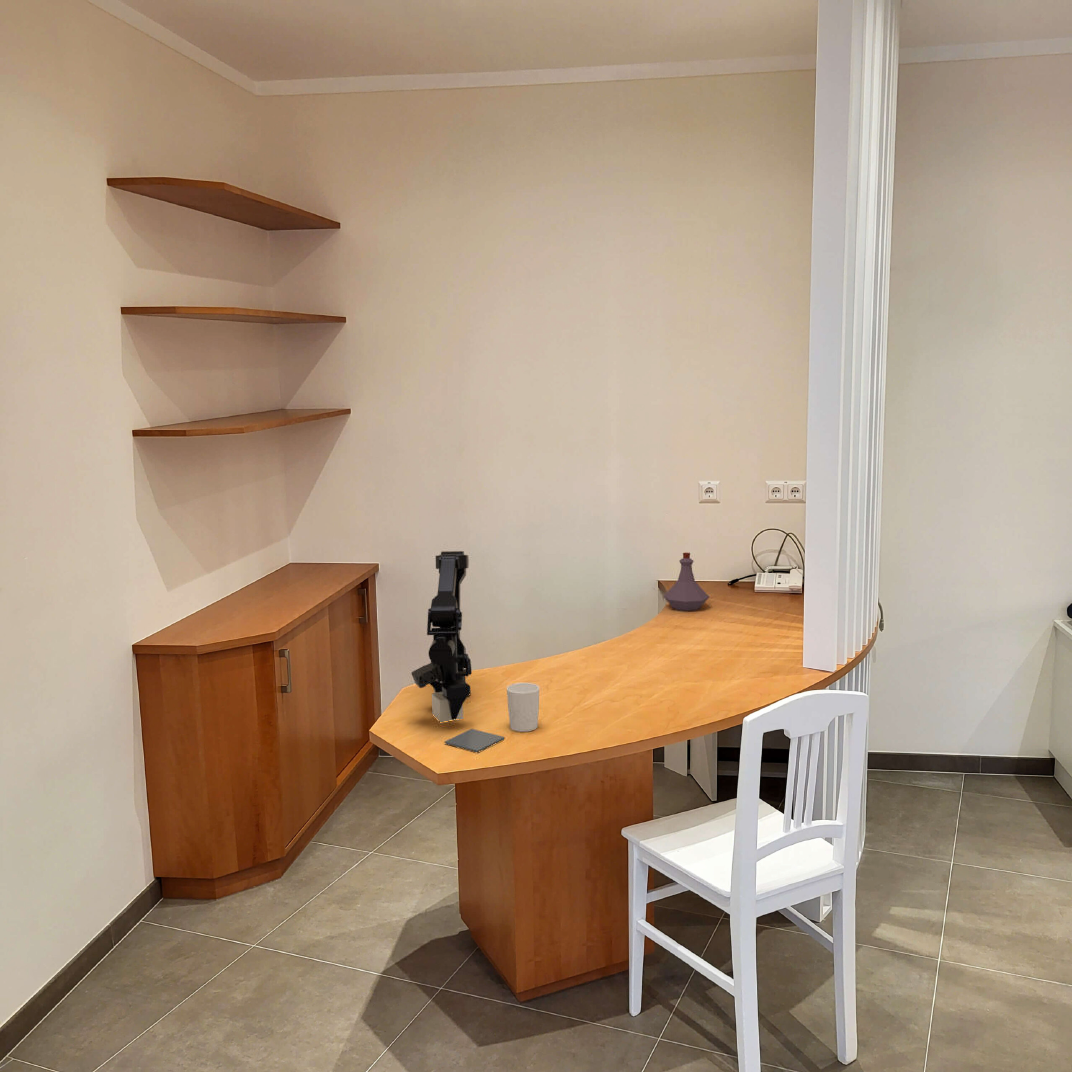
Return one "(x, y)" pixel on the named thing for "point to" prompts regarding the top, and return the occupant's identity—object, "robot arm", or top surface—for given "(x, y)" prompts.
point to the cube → (443, 708)
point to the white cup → (523, 706)
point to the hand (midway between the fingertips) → (447, 713)
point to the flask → (686, 589)
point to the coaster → (474, 740)
